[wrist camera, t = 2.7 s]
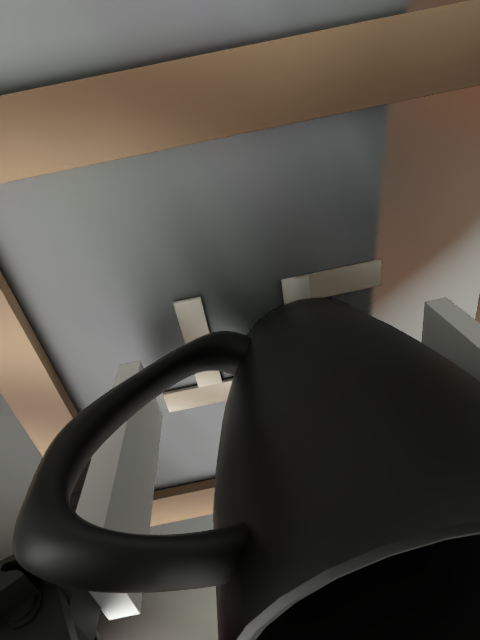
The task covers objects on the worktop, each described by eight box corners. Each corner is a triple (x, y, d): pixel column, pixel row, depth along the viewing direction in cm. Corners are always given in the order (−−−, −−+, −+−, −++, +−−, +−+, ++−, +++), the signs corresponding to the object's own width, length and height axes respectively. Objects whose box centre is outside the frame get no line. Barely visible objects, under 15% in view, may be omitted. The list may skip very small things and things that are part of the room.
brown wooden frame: (-158, 129, 10) (-174, 130, 10) (603, -26, 10) (621, -32, 10) (98, 528, 20) (96, 537, 19) (489, 446, 20) (496, 454, 19)
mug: (155, 174, 11) (56, 358, 3) (445, 310, 15) (752, 561, 7) (82, 376, 15) (-59, 722, 6) (334, 447, 18) (448, 726, 10)
